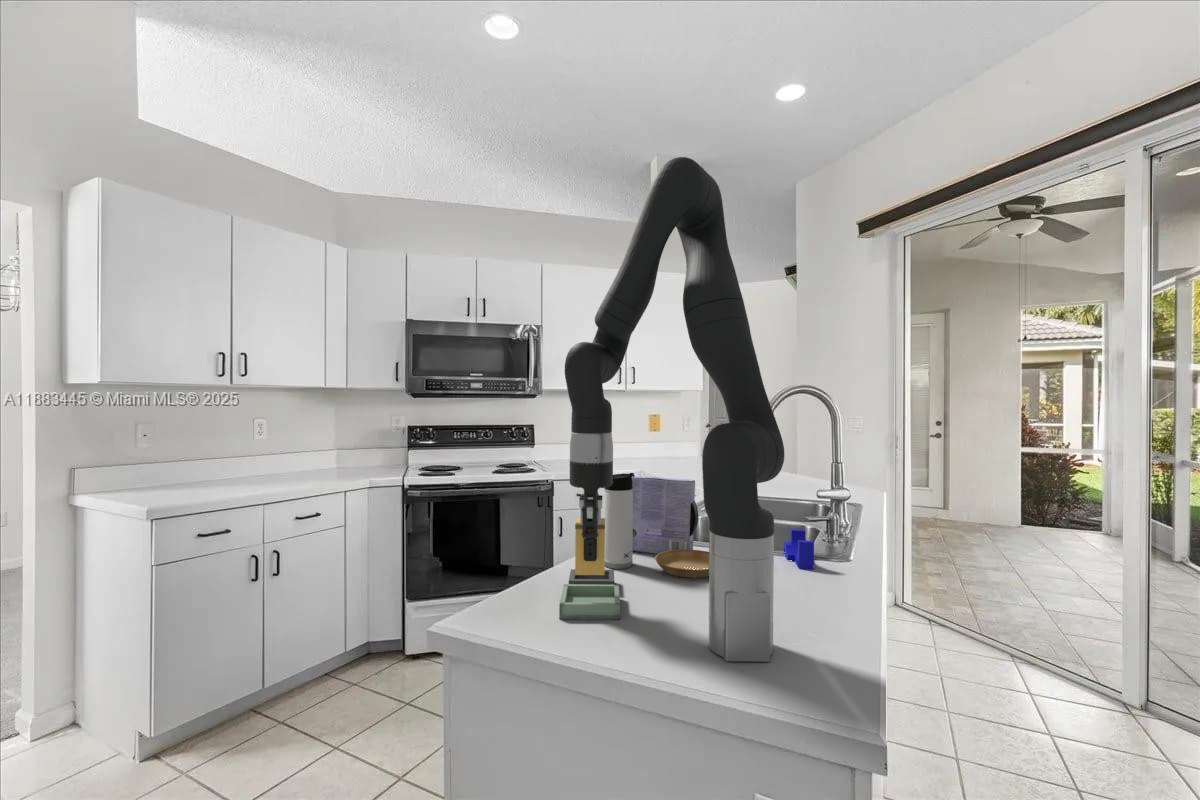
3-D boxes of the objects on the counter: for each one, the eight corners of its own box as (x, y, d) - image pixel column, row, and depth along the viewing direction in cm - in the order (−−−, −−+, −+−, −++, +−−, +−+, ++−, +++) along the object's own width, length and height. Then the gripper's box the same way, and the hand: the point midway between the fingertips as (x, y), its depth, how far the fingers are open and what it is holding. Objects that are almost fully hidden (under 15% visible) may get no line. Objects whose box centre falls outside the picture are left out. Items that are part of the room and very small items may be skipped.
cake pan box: (698, 552, 137) (699, 477, 137) (694, 558, 133) (695, 480, 132) (620, 545, 144) (620, 473, 144) (614, 550, 139) (614, 476, 139)
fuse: (604, 575, 100) (605, 523, 100) (574, 575, 100) (575, 522, 100) (604, 568, 104) (605, 518, 104) (576, 568, 104) (576, 517, 104)
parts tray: (619, 619, 97) (619, 604, 97) (559, 619, 97) (559, 604, 97) (618, 598, 107) (618, 584, 107) (563, 597, 107) (563, 584, 107)
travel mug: (634, 569, 124) (635, 475, 124) (603, 569, 124) (603, 475, 124) (633, 561, 130) (633, 471, 130) (603, 560, 131) (604, 471, 130)
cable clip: (783, 554, 137) (783, 528, 137) (803, 555, 136) (803, 529, 136) (791, 569, 125) (791, 541, 125) (813, 570, 124) (814, 542, 124)
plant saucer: (732, 582, 117) (732, 569, 117) (658, 582, 117) (658, 569, 117) (717, 561, 132) (717, 549, 132) (652, 560, 132) (652, 549, 132)
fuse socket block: (614, 594, 109) (614, 581, 109) (568, 594, 109) (568, 580, 109) (613, 582, 116) (613, 569, 116) (570, 581, 116) (570, 569, 116)
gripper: (613, 464, 95) (612, 570, 95) (612, 454, 109) (612, 546, 109) (566, 463, 95) (566, 569, 95) (572, 453, 109) (571, 545, 109)
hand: (590, 556), depth 102 cm, fingers closed on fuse, 3 cm apart
